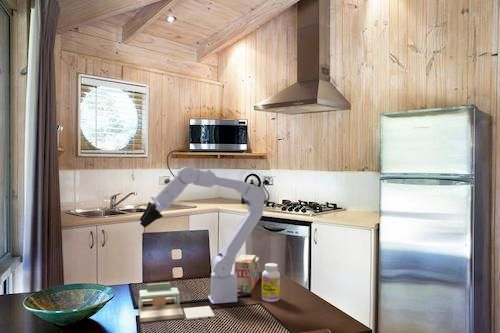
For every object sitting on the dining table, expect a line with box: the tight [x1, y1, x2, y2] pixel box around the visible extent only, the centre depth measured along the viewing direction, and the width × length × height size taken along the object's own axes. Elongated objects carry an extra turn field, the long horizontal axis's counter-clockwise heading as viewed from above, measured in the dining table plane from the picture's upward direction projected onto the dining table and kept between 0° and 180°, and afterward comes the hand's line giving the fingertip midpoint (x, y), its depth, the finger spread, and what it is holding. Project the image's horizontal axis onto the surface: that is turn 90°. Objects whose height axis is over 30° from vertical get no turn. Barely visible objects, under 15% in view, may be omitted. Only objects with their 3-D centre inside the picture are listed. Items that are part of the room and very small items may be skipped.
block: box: [152, 296, 167, 306], centre depth 135 cm, size 4×4×4 cm
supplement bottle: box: [261, 262, 281, 303], centre depth 145 cm, size 7×7×13 cm
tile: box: [182, 305, 216, 321], centre depth 129 cm, size 9×9×1 cm
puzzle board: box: [138, 296, 185, 323], centre depth 132 cm, size 13×17×1 cm
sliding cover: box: [138, 282, 180, 307], centre depth 135 cm, size 13×6×6 cm, turn 108°
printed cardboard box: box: [233, 254, 260, 294], centre depth 162 cm, size 21×6×12 cm, turn 168°
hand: (142, 223), depth 136 cm, fingers open, 7 cm apart
